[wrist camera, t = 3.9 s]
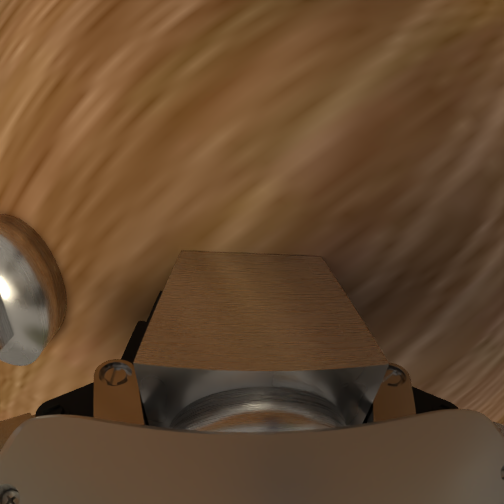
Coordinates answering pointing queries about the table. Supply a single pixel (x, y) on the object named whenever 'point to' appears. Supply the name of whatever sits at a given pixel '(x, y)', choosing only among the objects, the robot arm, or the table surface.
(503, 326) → the table surface
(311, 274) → the socket
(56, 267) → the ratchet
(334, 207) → the table surface
